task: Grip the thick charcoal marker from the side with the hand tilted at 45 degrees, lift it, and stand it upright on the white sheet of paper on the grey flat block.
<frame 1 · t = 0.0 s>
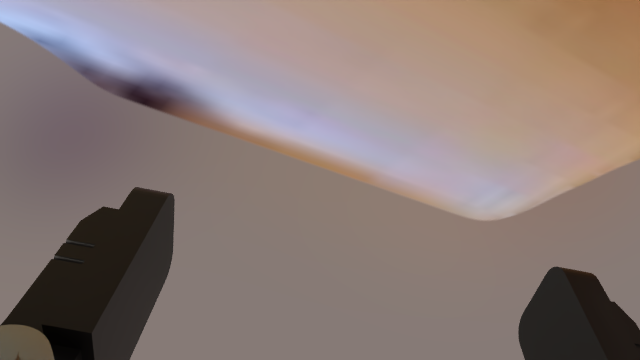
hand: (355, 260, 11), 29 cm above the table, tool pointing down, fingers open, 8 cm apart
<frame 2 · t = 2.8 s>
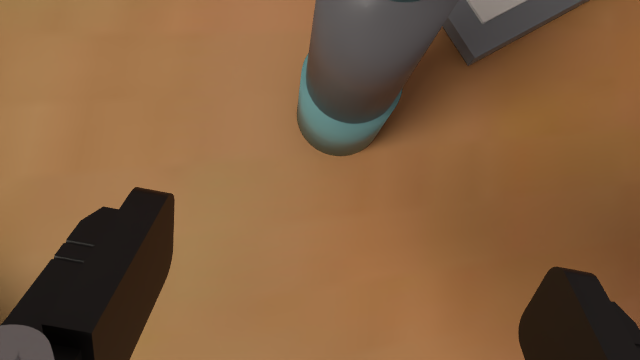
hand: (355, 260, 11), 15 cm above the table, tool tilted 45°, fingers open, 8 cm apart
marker: (339, 115, 27), on the table
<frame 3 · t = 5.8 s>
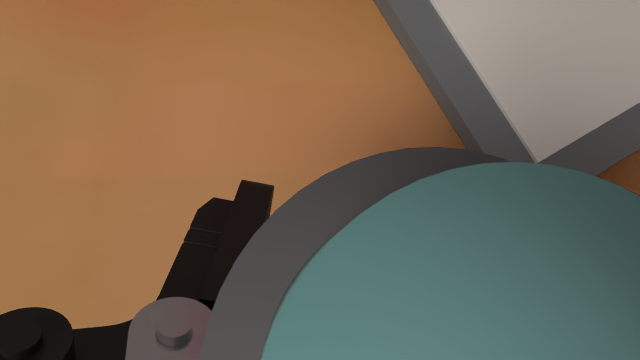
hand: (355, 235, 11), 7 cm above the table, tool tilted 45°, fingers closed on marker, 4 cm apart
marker: (317, 306, 18), on the table, touching gripper
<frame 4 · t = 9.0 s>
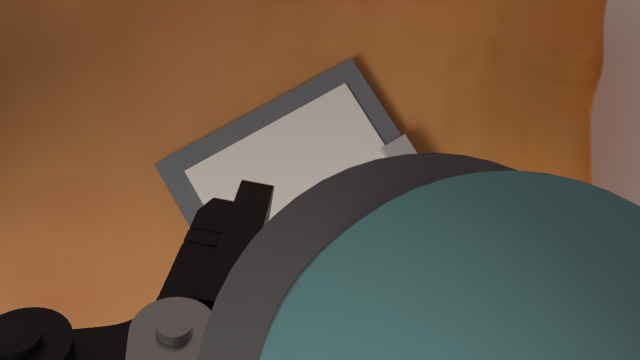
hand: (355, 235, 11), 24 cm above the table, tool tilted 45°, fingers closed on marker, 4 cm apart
grey flat block: (328, 231, 35), on the table
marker: (317, 308, 18), point 17 cm above the table, touching gripper
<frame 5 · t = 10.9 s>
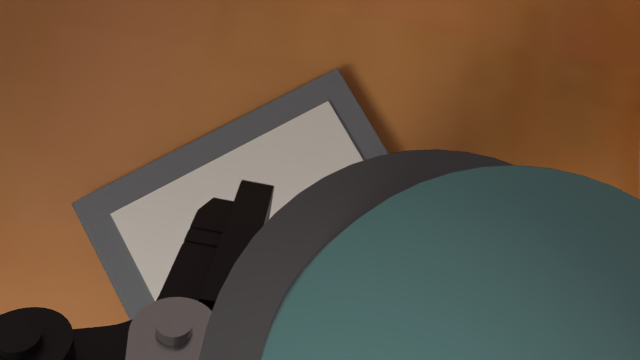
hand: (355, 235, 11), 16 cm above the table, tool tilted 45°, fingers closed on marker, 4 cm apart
grey flat block: (300, 295, 27), on the table
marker: (317, 307, 18), point 9 cm above the table, touching gripper
when the fingers open (10 cm above the table, at t = 12.5 s): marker drops 1 cm, resting on grey flat block.
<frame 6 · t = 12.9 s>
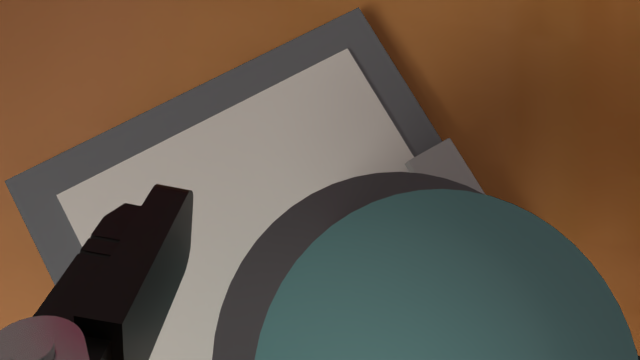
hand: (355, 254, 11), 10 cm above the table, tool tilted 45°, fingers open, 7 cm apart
grey flat block: (312, 303, 20), on the table
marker: (315, 308, 19), point 1 cm above the table, touching grey flat block
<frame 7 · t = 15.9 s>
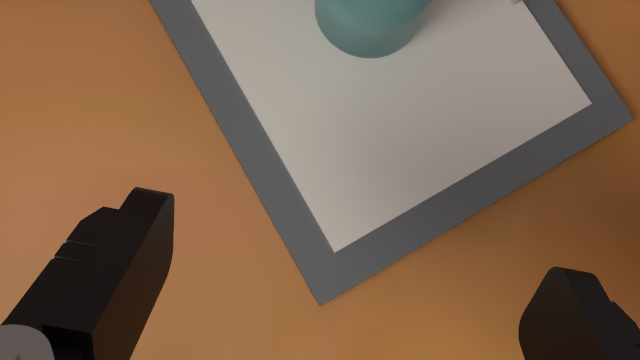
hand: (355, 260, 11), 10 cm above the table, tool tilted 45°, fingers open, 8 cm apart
grey flat block: (361, 20, 23), on the table
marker: (367, 8, 22), point 1 cm above the table, touching grey flat block
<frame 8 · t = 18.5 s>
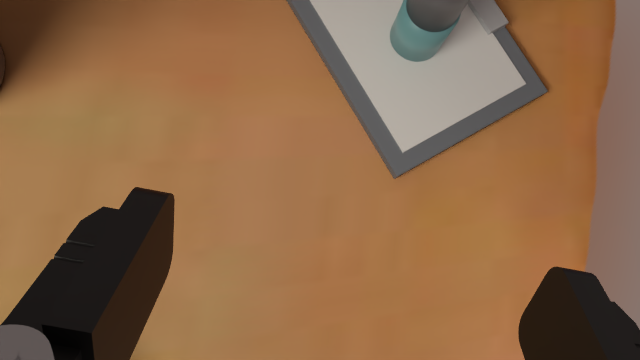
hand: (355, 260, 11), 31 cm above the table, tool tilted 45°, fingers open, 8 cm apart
grey flat block: (411, 42, 46), on the table
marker: (415, 37, 44), point 1 cm above the table, touching grey flat block
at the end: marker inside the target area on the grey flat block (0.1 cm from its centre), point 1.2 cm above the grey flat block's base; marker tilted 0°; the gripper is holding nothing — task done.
